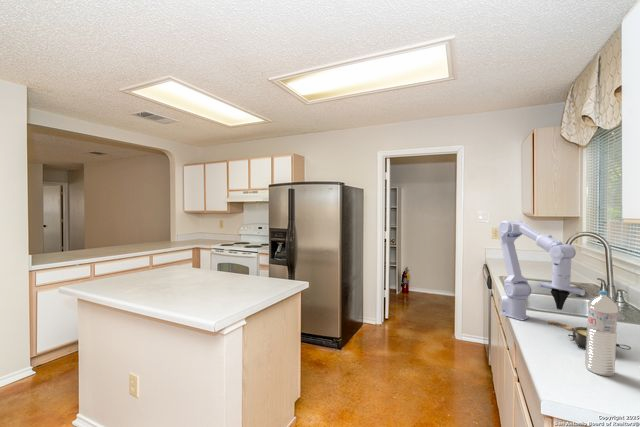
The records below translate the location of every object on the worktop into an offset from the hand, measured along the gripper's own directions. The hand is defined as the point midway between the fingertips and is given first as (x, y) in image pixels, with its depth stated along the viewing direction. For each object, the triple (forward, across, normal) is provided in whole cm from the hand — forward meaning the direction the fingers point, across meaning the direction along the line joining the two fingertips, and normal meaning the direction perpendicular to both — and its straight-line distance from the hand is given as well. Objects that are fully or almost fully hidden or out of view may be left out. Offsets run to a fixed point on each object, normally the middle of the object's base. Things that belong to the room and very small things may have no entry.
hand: (559, 308), depth 122 cm
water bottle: (+10, -16, +22) cm, 30 cm away
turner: (+10, -1, -12) cm, 16 cm away
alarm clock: (+8, -4, +4) cm, 10 cm away
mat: (+10, -12, 0) cm, 16 cm away
